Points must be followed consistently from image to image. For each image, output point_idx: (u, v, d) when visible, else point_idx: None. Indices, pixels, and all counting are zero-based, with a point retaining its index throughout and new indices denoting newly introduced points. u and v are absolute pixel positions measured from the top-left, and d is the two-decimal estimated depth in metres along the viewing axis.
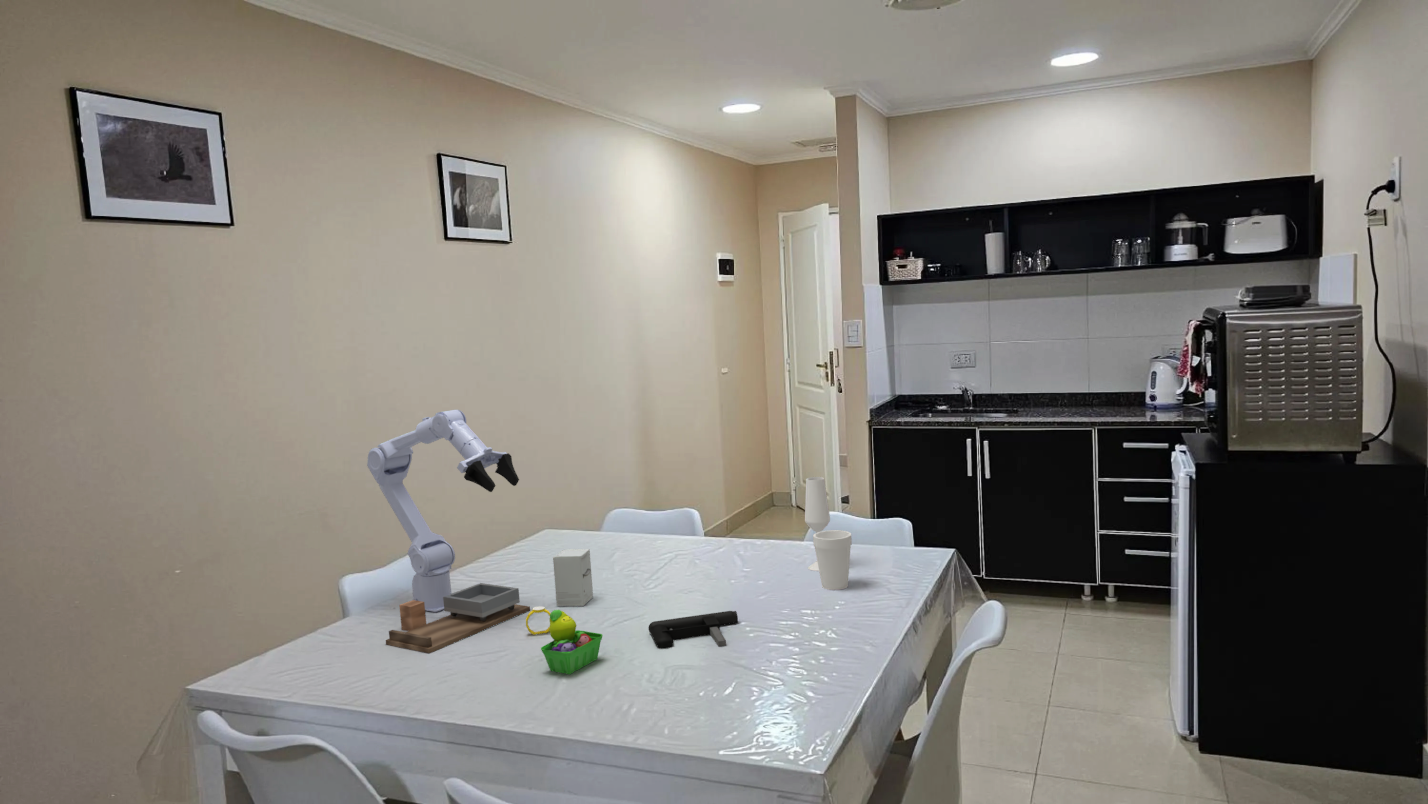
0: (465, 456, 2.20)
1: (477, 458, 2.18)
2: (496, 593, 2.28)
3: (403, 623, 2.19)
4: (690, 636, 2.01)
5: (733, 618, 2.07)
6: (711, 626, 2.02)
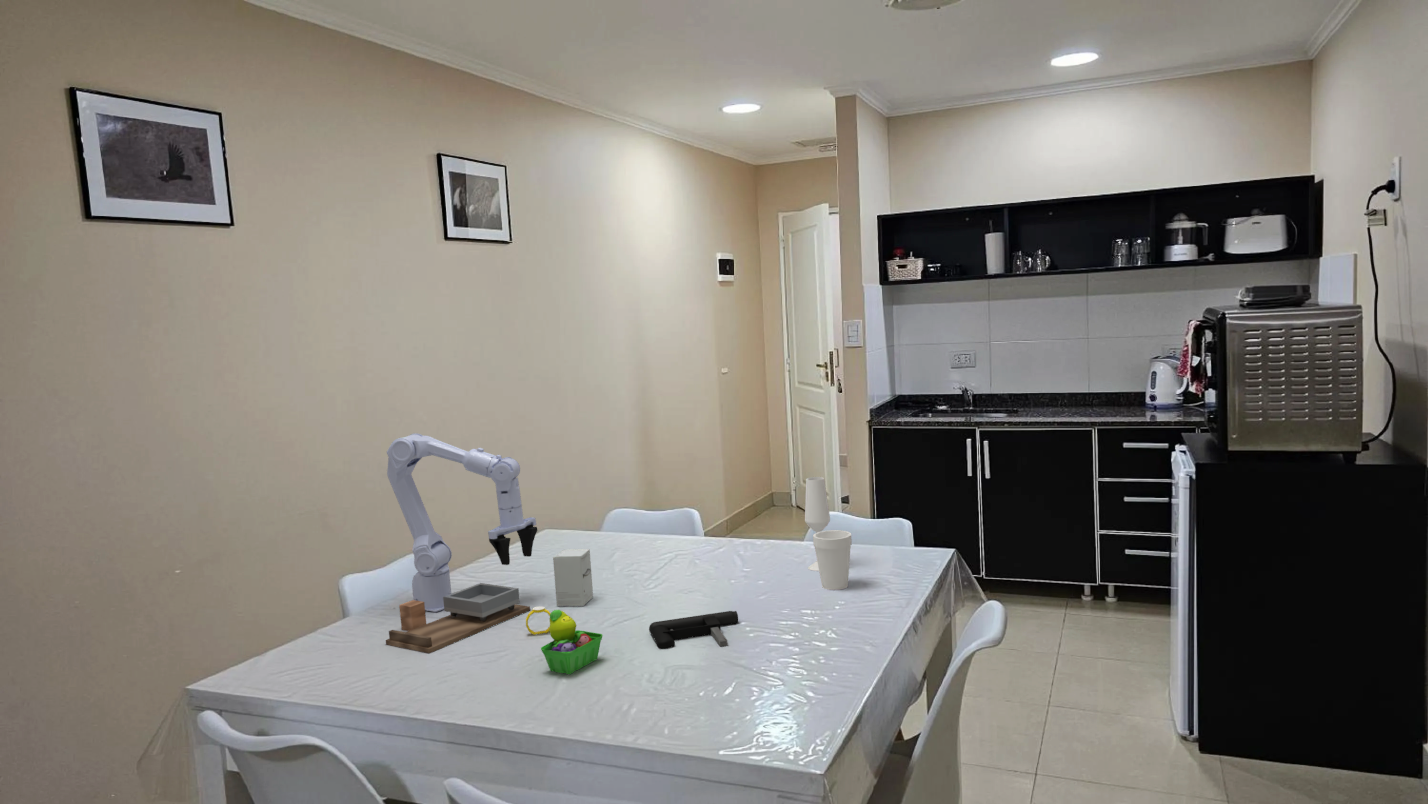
0: (500, 516, 2.30)
1: None
2: (496, 593, 2.28)
3: (403, 623, 2.19)
4: (691, 636, 2.01)
5: (734, 618, 2.07)
6: (712, 626, 2.01)
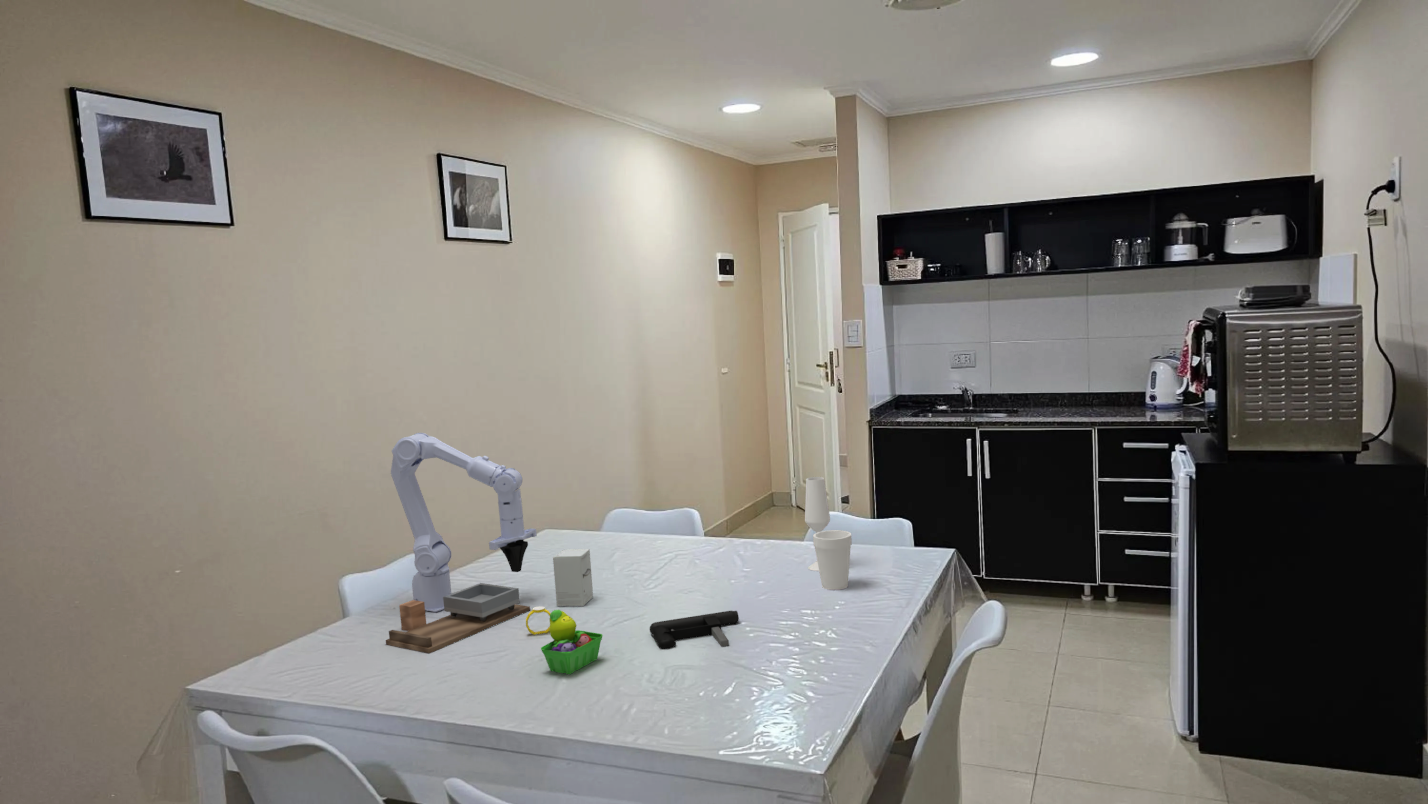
0: (501, 527, 2.31)
1: None
2: (496, 593, 2.28)
3: (403, 623, 2.19)
4: (692, 636, 2.00)
5: (734, 618, 2.07)
6: (713, 626, 2.01)
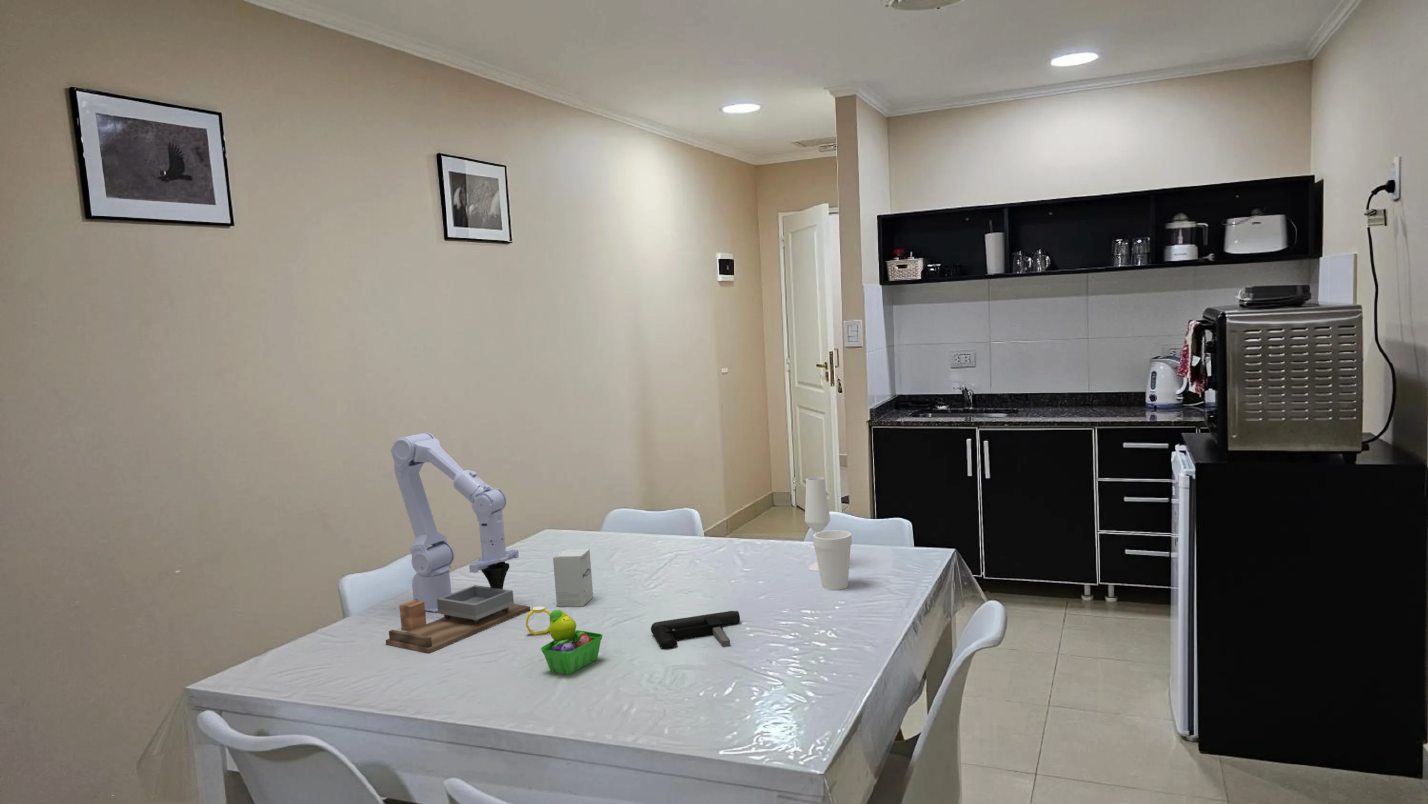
0: (482, 549, 2.26)
1: (490, 563, 2.24)
2: (490, 595, 2.27)
3: (403, 623, 2.19)
4: (693, 636, 2.00)
5: (736, 618, 2.07)
6: (714, 626, 2.01)
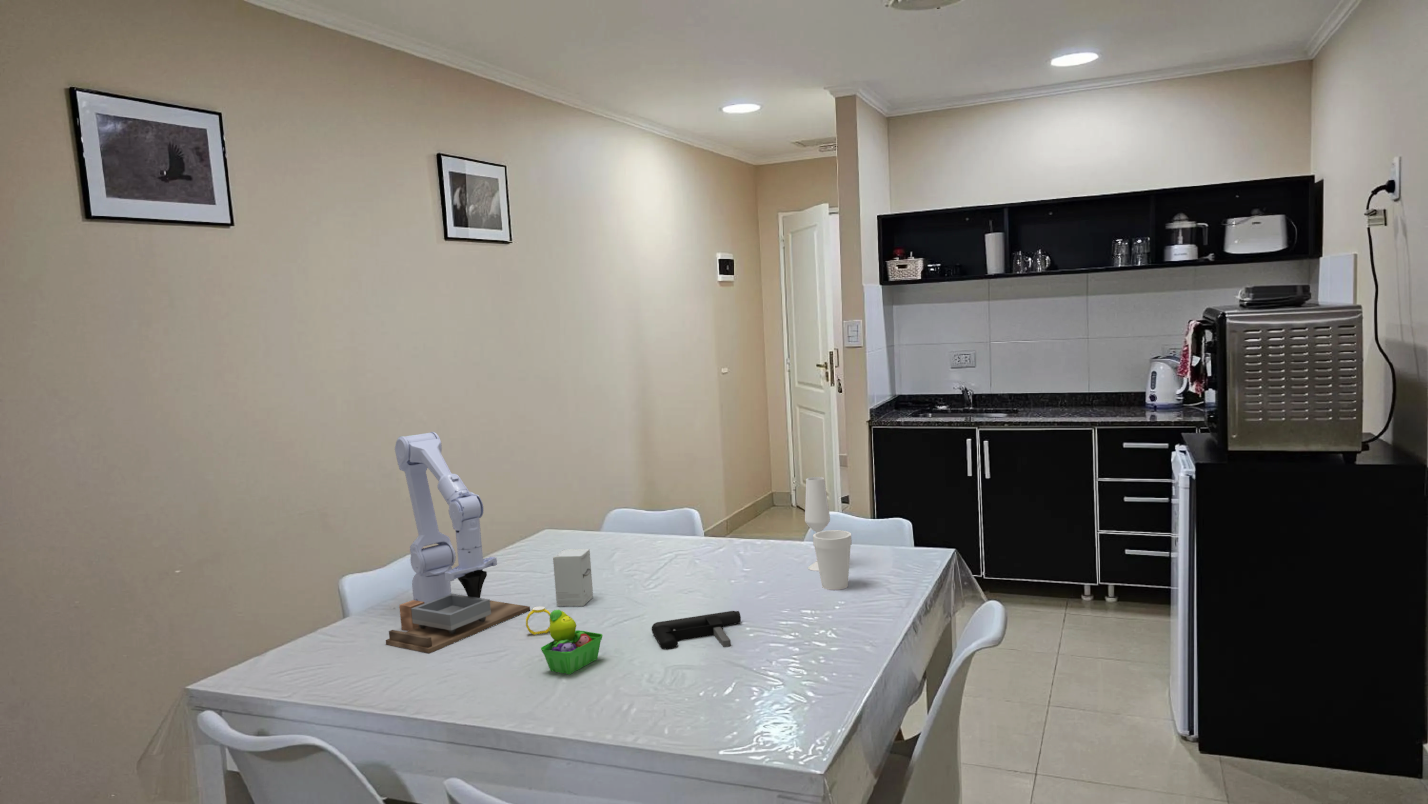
0: (459, 556, 2.19)
1: (467, 571, 2.18)
2: (467, 604, 2.21)
3: (403, 623, 2.19)
4: (694, 636, 2.00)
5: (736, 618, 2.07)
6: (715, 626, 2.01)
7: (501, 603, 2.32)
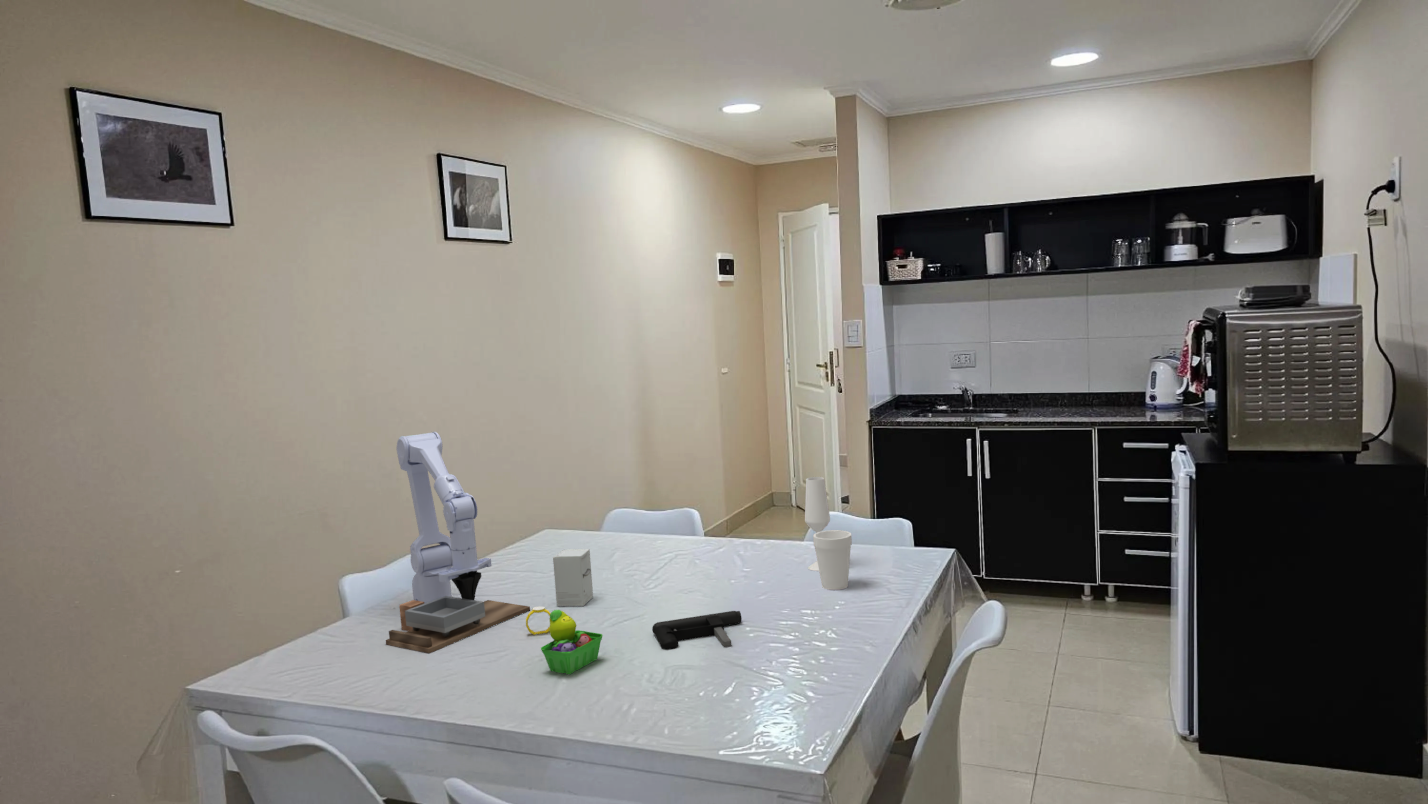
0: (453, 557, 2.18)
1: None
2: (461, 607, 2.19)
3: (403, 623, 2.19)
4: (694, 637, 2.00)
5: (737, 618, 2.07)
6: (715, 626, 2.01)
7: (501, 603, 2.32)
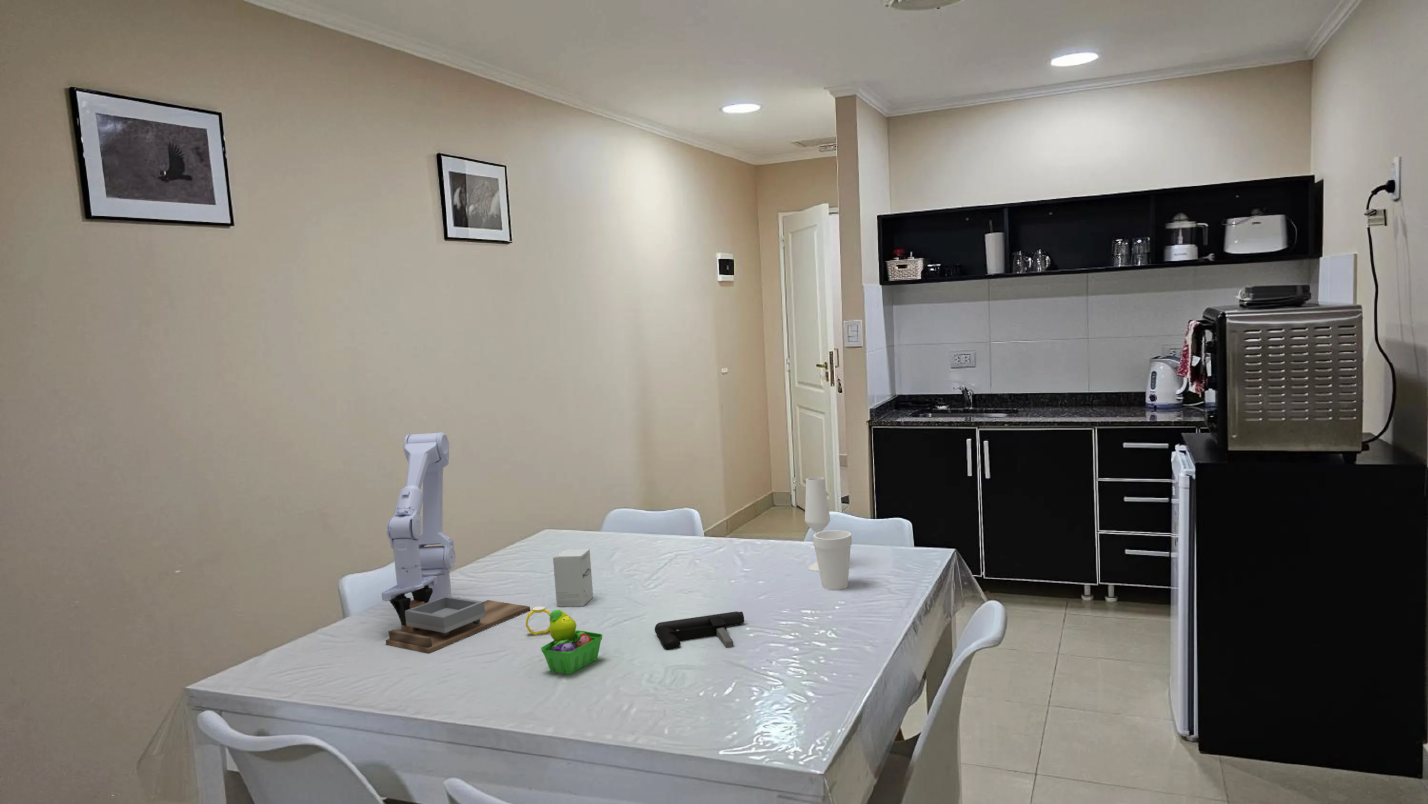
0: (397, 576, 2.17)
1: None
2: (461, 607, 2.19)
3: None
4: (697, 637, 2.00)
5: (740, 619, 2.06)
6: (718, 627, 2.01)
7: (501, 603, 2.32)
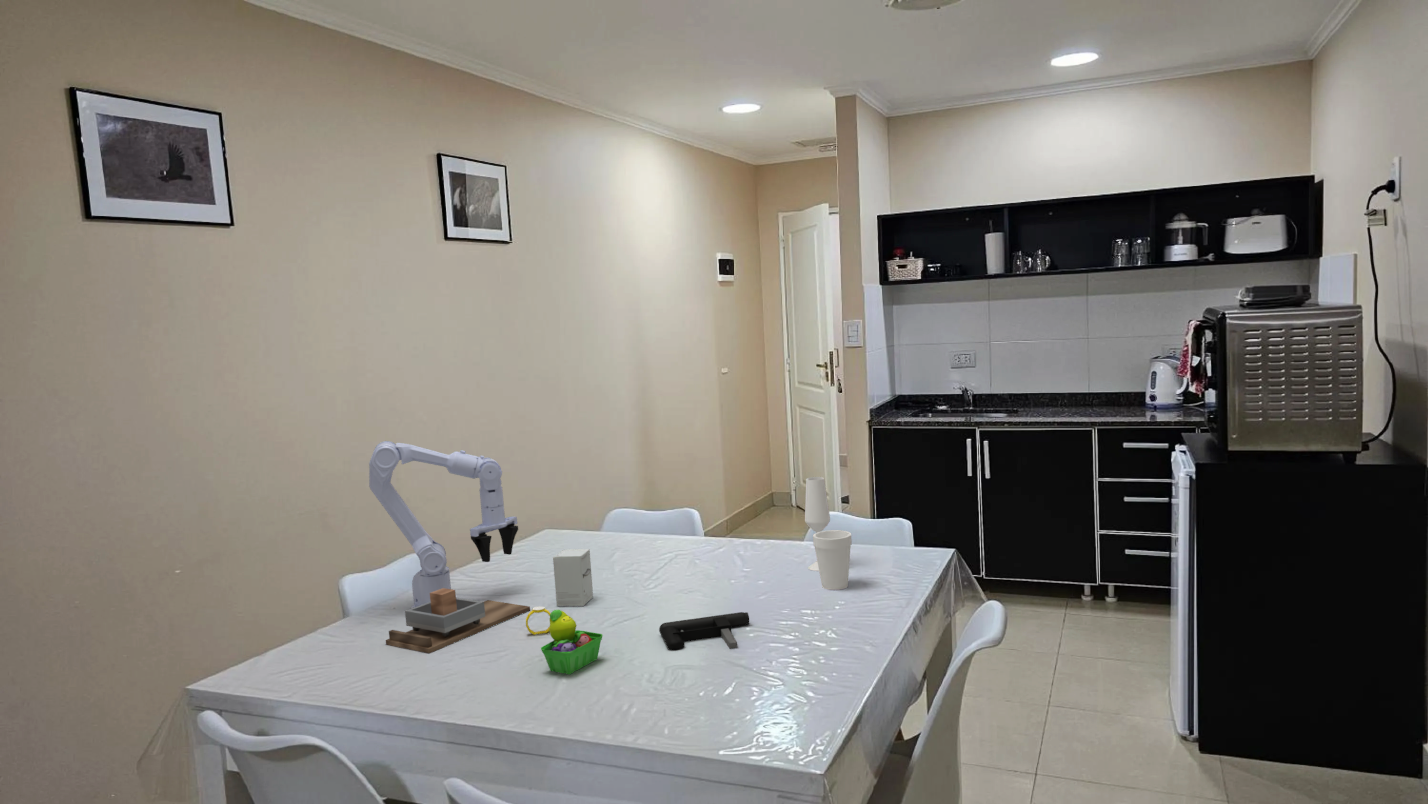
0: (483, 514, 2.37)
1: (490, 528, 2.36)
2: (461, 607, 2.19)
3: (434, 612, 2.14)
4: (701, 638, 1.99)
5: (745, 619, 2.05)
6: (722, 628, 2.00)
7: (501, 603, 2.32)
